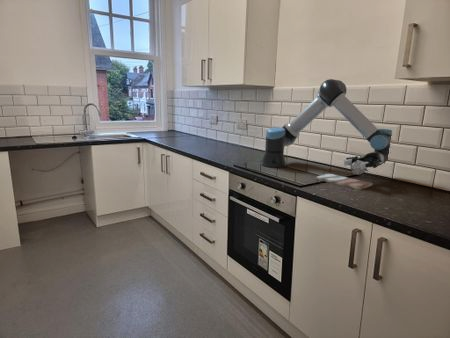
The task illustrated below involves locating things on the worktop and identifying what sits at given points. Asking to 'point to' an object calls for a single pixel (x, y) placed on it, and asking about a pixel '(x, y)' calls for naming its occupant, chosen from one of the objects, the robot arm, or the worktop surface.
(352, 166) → the game die
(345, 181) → the game board
